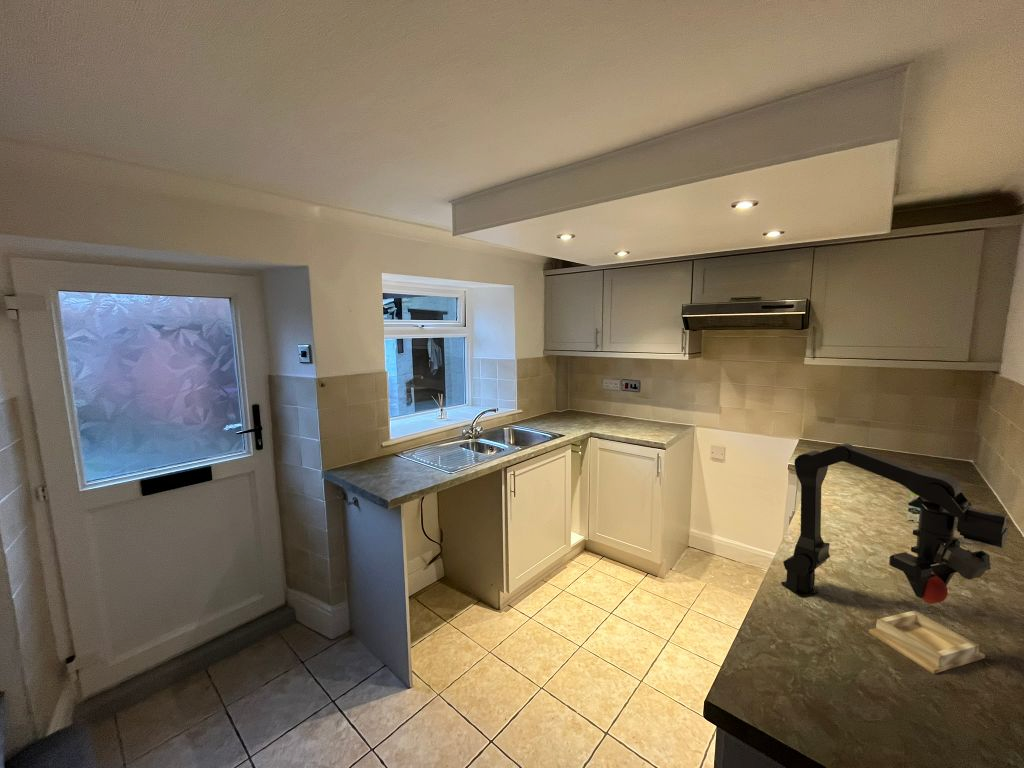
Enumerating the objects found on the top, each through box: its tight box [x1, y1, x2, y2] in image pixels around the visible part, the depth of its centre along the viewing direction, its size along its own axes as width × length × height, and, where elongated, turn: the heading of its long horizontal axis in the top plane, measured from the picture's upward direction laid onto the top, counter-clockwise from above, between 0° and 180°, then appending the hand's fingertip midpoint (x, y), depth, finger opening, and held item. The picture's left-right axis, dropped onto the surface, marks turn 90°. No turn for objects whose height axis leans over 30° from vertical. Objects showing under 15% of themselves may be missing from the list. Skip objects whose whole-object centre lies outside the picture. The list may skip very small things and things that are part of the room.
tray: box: [868, 610, 986, 675], centre depth 99 cm, size 16×13×3 cm
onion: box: [920, 571, 949, 605], centre depth 98 cm, size 6×6×8 cm
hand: (928, 594), depth 98 cm, fingers closed on onion, 6 cm apart
